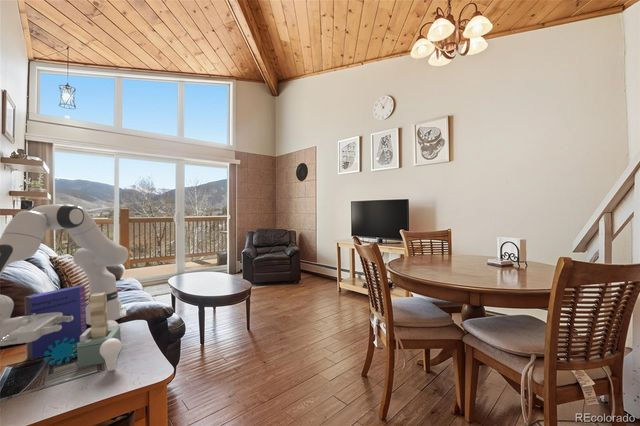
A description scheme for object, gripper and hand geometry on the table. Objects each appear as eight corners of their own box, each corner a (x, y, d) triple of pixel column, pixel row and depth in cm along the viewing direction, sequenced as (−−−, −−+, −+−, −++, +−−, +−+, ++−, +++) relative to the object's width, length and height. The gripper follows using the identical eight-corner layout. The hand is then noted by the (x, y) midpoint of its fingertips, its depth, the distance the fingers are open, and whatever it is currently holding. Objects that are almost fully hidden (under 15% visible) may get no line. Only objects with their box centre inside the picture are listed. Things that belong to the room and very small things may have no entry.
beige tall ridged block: (96, 355, 108) (93, 293, 108) (108, 353, 109) (106, 292, 109) (92, 360, 104) (89, 296, 104) (105, 358, 106) (102, 294, 105)
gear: (39, 366, 98) (48, 338, 105) (41, 373, 101) (49, 345, 108) (80, 360, 104) (86, 334, 111) (80, 367, 107) (86, 341, 114)
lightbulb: (124, 370, 96) (122, 338, 96) (101, 378, 92) (100, 345, 92) (120, 364, 101) (119, 333, 101) (99, 371, 96) (98, 339, 96)
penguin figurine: (116, 316, 125) (124, 325, 117) (117, 335, 125) (125, 345, 118) (99, 321, 120) (106, 330, 112) (99, 340, 121) (106, 351, 113)
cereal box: (81, 338, 124) (78, 284, 124) (87, 340, 122) (84, 285, 122) (27, 357, 108) (24, 296, 108) (32, 360, 106) (29, 297, 106)
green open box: (90, 352, 110) (89, 335, 110) (120, 347, 114) (120, 330, 114) (77, 367, 99) (77, 348, 99) (111, 361, 103) (111, 342, 103)
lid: (89, 334, 110) (89, 326, 110) (120, 329, 114) (119, 321, 114) (77, 347, 99) (76, 338, 99) (111, 341, 103) (110, 333, 103)
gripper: (-5, 332, 88) (52, 324, 93) (32, 312, 107) (78, 306, 112) (-4, 352, 88) (53, 343, 93) (33, 328, 107) (78, 321, 112)
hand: (66, 322), depth 103 cm, fingers open, 8 cm apart
